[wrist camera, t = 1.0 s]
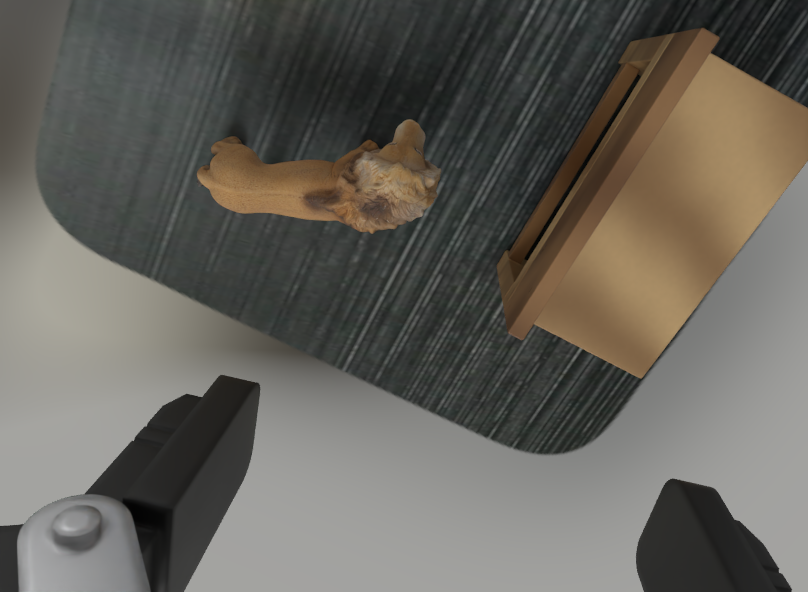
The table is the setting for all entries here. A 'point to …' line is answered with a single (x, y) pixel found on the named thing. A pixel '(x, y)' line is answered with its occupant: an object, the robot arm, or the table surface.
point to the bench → (653, 201)
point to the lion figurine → (329, 182)
